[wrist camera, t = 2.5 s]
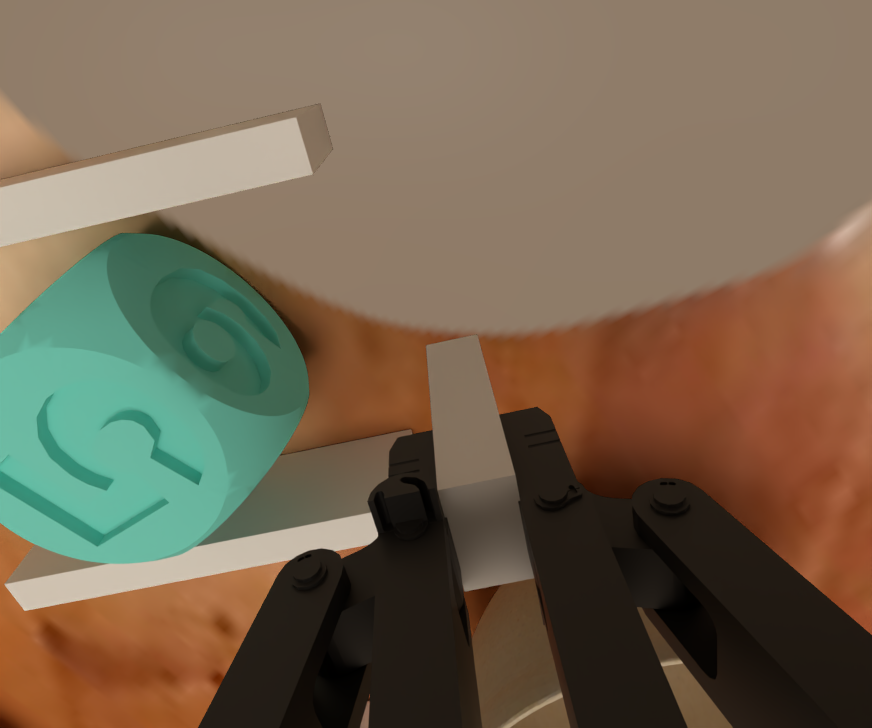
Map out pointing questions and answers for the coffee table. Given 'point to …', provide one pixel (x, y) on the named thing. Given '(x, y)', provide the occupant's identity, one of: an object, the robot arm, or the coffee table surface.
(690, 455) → the coffee table surface
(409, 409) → the coffee table surface
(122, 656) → the coffee table surface
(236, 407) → the decorative dice
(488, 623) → the planter bowl
